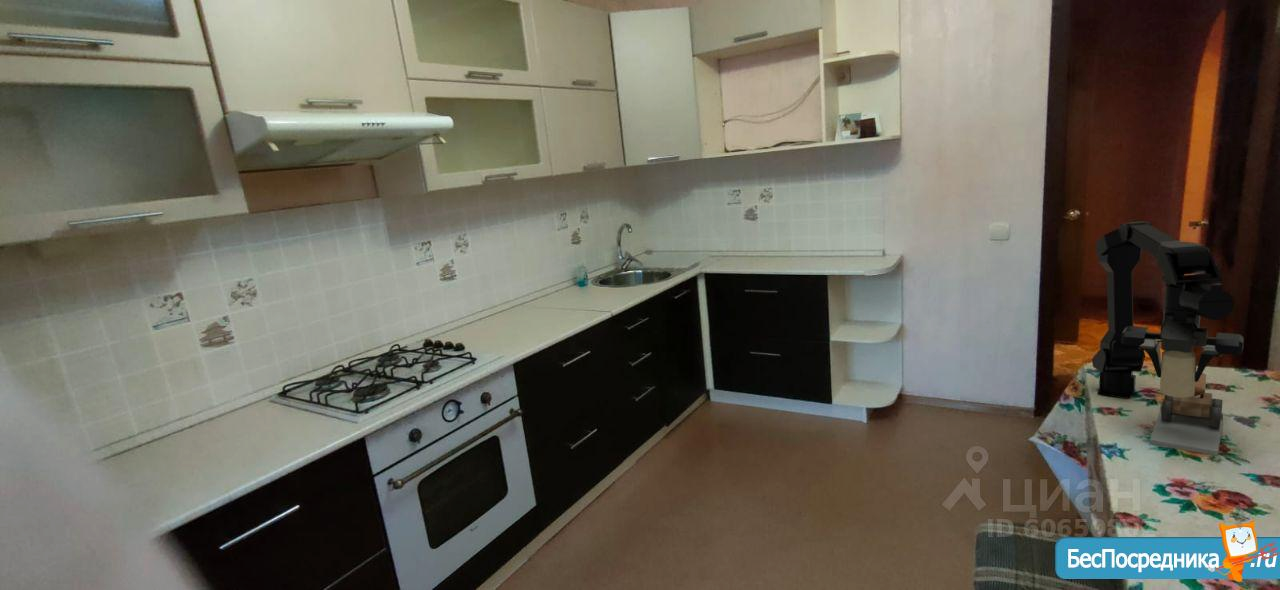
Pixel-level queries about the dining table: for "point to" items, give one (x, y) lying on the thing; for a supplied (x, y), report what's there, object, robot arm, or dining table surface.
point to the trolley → (1193, 408)
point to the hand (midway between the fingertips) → (1177, 378)
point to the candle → (1178, 374)
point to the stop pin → (1200, 386)
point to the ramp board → (1187, 434)
